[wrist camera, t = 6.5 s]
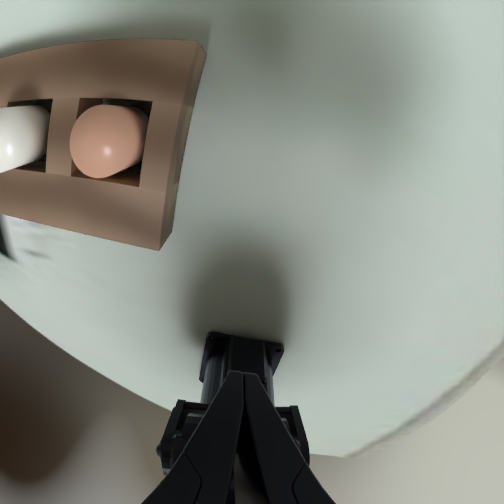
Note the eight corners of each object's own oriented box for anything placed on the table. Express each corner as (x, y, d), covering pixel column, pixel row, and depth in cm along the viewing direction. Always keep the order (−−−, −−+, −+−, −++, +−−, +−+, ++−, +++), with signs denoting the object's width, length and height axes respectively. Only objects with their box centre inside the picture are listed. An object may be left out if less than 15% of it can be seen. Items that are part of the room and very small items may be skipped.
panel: (171, 232, 19) (159, 251, 16) (-24, 192, 17) (-44, 201, 14) (206, 54, 14) (197, 41, 11) (-15, 70, 12) (-37, 71, 9)
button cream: (50, 163, 15) (17, 175, 11) (14, 159, 14) (-18, 171, 11) (56, 104, 13) (22, 105, 10) (19, 106, 13) (-15, 110, 9)
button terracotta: (148, 171, 17) (126, 182, 13) (95, 163, 16) (67, 173, 13) (159, 109, 15) (137, 106, 12) (103, 104, 15) (74, 104, 11)
